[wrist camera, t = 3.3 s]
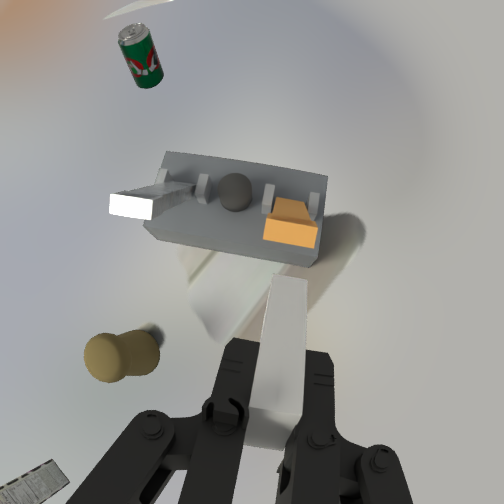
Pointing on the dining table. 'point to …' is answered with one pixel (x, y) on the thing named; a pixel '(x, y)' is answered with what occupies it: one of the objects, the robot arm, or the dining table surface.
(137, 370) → the cork
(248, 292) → the dining table surface
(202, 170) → the console
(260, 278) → the dining table surface
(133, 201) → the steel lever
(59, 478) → the candy bar box
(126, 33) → the soda can
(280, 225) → the orange lever
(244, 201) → the button
